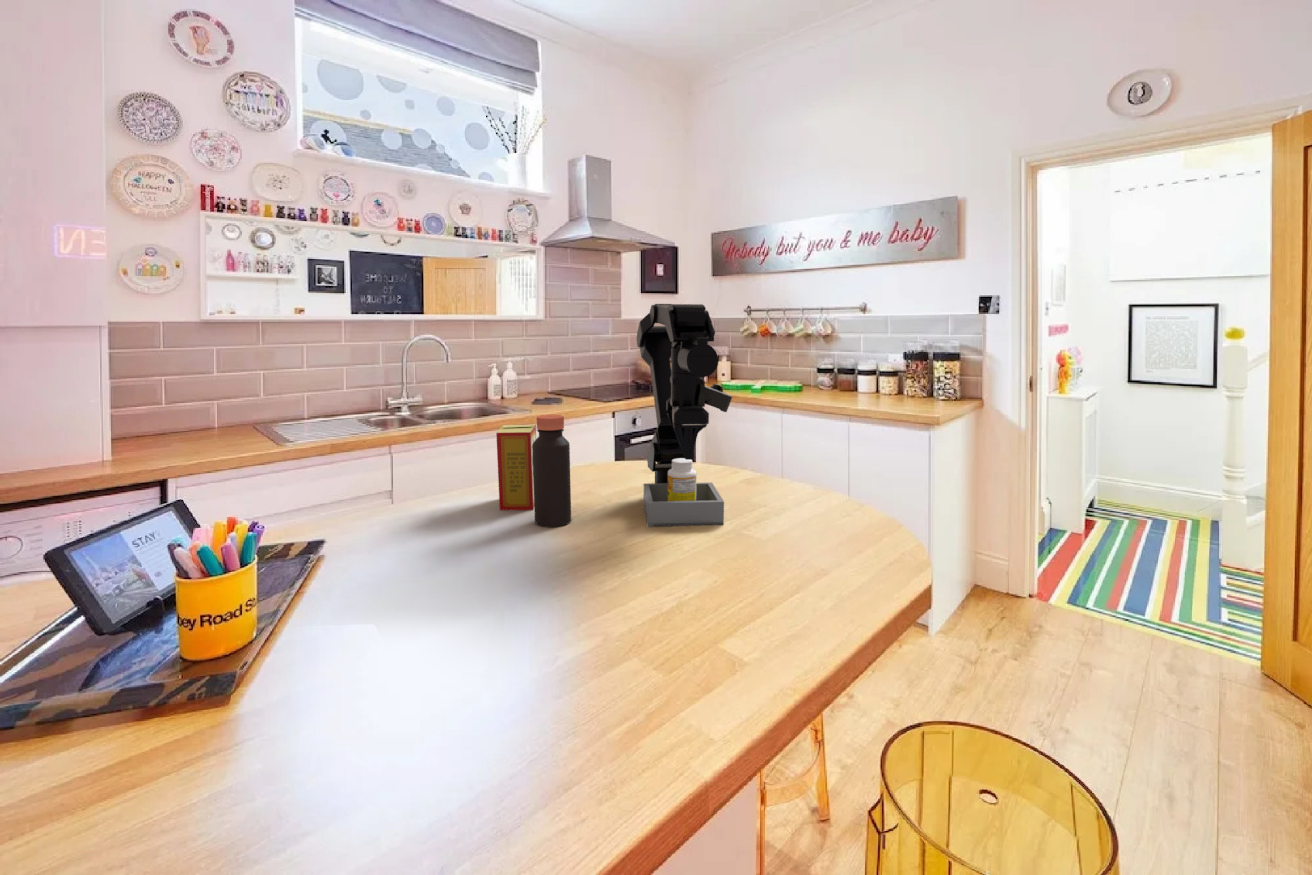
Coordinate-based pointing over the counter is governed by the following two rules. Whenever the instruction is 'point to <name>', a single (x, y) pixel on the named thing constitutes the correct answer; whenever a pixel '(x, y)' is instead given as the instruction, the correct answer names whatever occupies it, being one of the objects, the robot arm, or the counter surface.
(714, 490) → the box
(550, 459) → the vinegar
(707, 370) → the robot arm
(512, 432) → the baking soda box
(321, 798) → the counter surface
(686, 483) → the supplement bottle
